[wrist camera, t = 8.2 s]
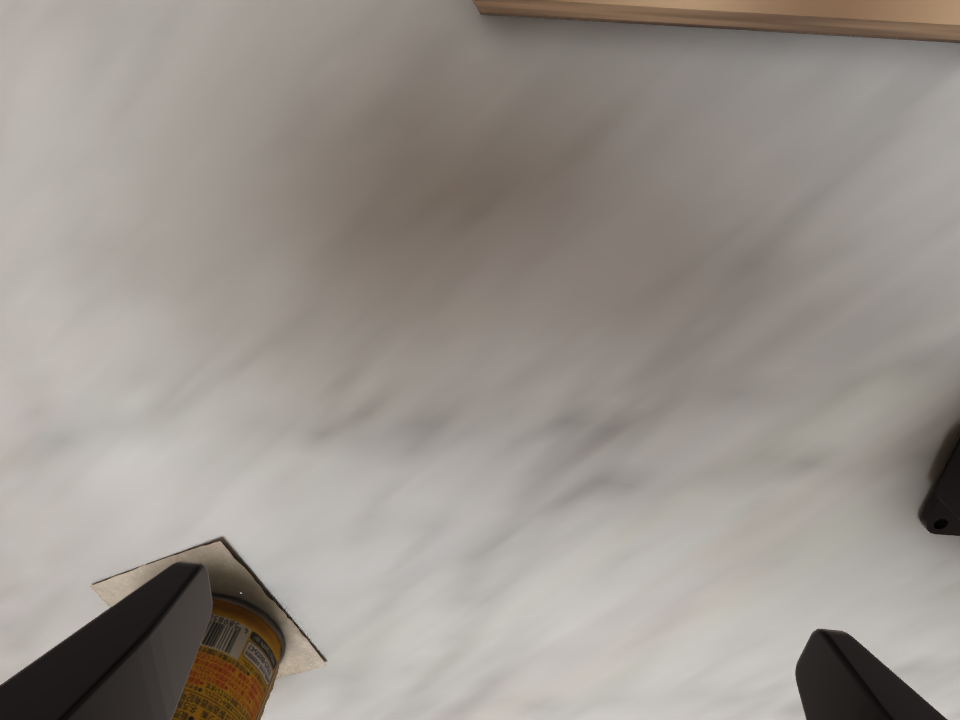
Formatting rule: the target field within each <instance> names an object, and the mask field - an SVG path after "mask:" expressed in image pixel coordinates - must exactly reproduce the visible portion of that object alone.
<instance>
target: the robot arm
mask: <svg viewBox="0 0 960 720" xmlns="http://www.w3.org/2000/svg"><path fill="white" fill-rule="evenodd" d="M920 521H921V524H922V525H923V526H924V527H925V528H926V529H927V530H928V531H929V532H930V533H933V534H941V535H955V536H960V438H959V440H958V442H957V444H956V446H955V448H954V450H953V452H952V454H951V456H950V458H949V460H948V462H947V464H946V466H945V468H944V470H943V472H942V474H941V476H940V478H939V480H938V482H937V484H936V486H935V488H934V490H933V492H932V494H931V496H930V499H929V501H928V503H927V505H926V507H925V509H924V511H923V513H922V515H921V517H920ZM212 605H213V603H212V595H211V588H210V581H209V575H208V570H207V567H206V566H205V565H204V564H202V563H194V562H185V561H179V562H176V563H173V564H172V565H170V566H169V567H167V568H166V569H164V570H163V571H161V572H160V573H159V574H157V575H156V576H154V577H153V578H152V579H150V580H149V581H147V582H146V583H144V584H143V585H142V586H140V587H139V588H137V589H136V590H135V591H133V592H132V593H130V594H129V595H127V596H126V597H125V598H123V599H122V600H120V601H119V602H118V603H116V604H115V605H113V606H112V607H110V608H109V609H108V610H106V611H105V612H103V613H102V614H101V615H99V616H98V617H96V618H95V619H93V620H92V621H91V622H89V623H88V624H86V625H85V626H84V627H82V628H81V629H79V630H78V631H76V632H75V633H74V634H72V635H71V636H69V637H68V638H67V639H65V640H64V641H62V642H61V643H59V644H58V645H57V646H55V647H54V648H52V649H51V650H50V651H48V652H47V653H45V654H44V655H42V656H41V657H40V658H38V659H37V660H35V661H34V662H33V663H31V664H30V665H28V666H27V667H25V668H24V669H23V670H21V671H20V672H18V673H17V674H16V675H14V676H13V677H11V678H10V679H8V680H7V681H6V682H4V683H3V684H1V685H0V720H172V717H173V715H174V712H175V710H176V707H177V704H178V702H179V699H180V697H181V694H182V691H183V689H184V686H185V683H186V681H187V678H188V676H189V673H190V670H191V668H192V665H193V662H194V660H195V657H196V654H197V652H198V649H199V647H200V644H201V641H202V639H203V636H204V633H205V631H206V628H207V625H208V623H209V620H210V617H211V613H212ZM795 675H796V682H797V686H798V690H799V694H800V697H801V701H802V705H803V709H804V713H805V716H806V720H947V719H946V718H945V717H944V716H942V715H941V714H940V713H939V712H938V711H937V710H936V709H934V708H933V707H932V706H931V705H930V704H929V703H928V702H926V701H925V700H924V699H923V698H922V697H921V696H920V695H918V694H917V693H916V692H915V691H914V690H913V689H912V688H910V687H909V686H908V685H907V684H906V683H905V682H904V681H902V680H901V679H900V678H899V677H898V676H897V675H896V674H894V673H893V672H892V671H891V670H890V669H889V668H887V667H886V666H885V665H884V664H883V663H882V662H881V661H879V660H878V659H877V658H876V657H875V656H874V655H873V654H871V653H870V652H869V651H868V650H867V649H866V648H865V647H863V646H862V645H861V644H860V643H859V642H858V641H857V640H855V639H854V638H853V637H852V636H851V635H849V634H848V633H846V632H843V631H838V630H828V629H817V630H815V631H814V632H813V633H812V634H811V636H810V638H809V640H808V642H807V644H806V646H805V648H804V650H803V652H802V654H801V656H800V658H799V660H798V662H797V665H796V673H795Z"/></svg>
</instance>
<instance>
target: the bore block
mask: <svg viewBox="0 0 960 720" xmlns="http://www.w3.org/2000/svg"><path fill="white" fill-rule="evenodd" d="M473 2H474V4H475V6H476V7H477V9H478V11H479V12H480V14H484V15H501V16H518V17H534V18H551V19H568V20H585V21H601V22H618V23H635V24H652V25H669V26H685V27H702V28H719V29H736V30H752V31H769V32H786V33H803V34H819V35H836V36H853V37H870V38H887V39H903V40H920V41H937V42H954V43H960V0H473Z"/></svg>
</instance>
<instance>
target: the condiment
mask: <svg viewBox="0 0 960 720" xmlns="http://www.w3.org/2000/svg"><path fill="white" fill-rule="evenodd" d="M179 561H185V562H194V563H202V564H204V565H205V566H206V567H207V570H208V575H209V581H210V588H211V595H212V603H213V605H212V613H211V617H210V620H209V623H208V625H207V628H206V631H205V633H204V636H203V639H202V641H201V644H200V647H199V649H198V652H197V654H196V657H195V660H194V662H193V665H192V668H191V670H190V673H189V676H188V678H187V681H186V683H185V686H184V689H183V691H182V694H181V697H180V699H179V702H178V704H177V707H176V710H175V712H174V715H173V717H172V720H260V719H261V717H262V715H263V712H264V708H265V705H266V702H267V700H268V699H269V696H270V693H271V691H272V689H273V686H274V681H275V679H276V678H278V677H281V676H285V675H288V674H295V673H301V672H304V671H307V670H311V669H315V668H318V667H321V666H324V665H327V664H326V663H325V662H324V661H323V660H322V658H321V657H320V656H319V654H318V653H317V652H316V651H315V649H314V648H313V647H312V645H311V644H310V643H309V641H308V640H307V639H306V638H305V637H304V636H303V635H302V634H301V633H300V631H299V629H298V628H297V627H296V625H295V624H294V623H293V622H292V621H291V620H290V619H289V618H287V616H286V614H285V613H284V612H283V611H282V610H281V609H280V608H279V607H278V606H277V605H276V603H275V602H274V601H272V600H271V599H270V598H268V596H267V595H266V594H265V593H264V591H263V589H262V588H261V587H260V585H259V584H258V583H257V582H256V581H255V580H254V578H253V577H252V575H251V574H250V573H249V572H248V571H247V570H246V569H245V567H244V566H242V565H241V564H240V563H239V562H238V561H237V560H235V559H234V558H233V556H232V555H231V553H230V552H229V551H228V549H227V548H226V547H225V546H224V545H223V544H222V542H221V541H218V542H215V543H212V544H209V545H206V546H200V547H198V548H195V549H191V550H188V551H185V552H183V553H180V554H177V555H173V556H170V557H167V558H164V559H162V560H159V561H156V562H154V563H151V564H148V565H142V566H141V567H139V568H137V569H135V570H132V571H130V572H127V573H125V574H121V575H117V576H114V577H112V578H110V579H108V580H105V581H103V582H100V583H97V584H94V585H92V586H90V587H91V588H92V589H93V590H94V591H95V592H96V593H97V594H98V596H99V597H100V598H101V599H102V600H103V601H104V602H105V603H107V604H108V605H109V606H111V607H112V606H113V605H115V604H116V603H118V602H119V601H120V600H122V599H123V598H125V597H126V596H127V595H129V594H130V593H132V592H133V591H135V590H136V589H137V588H139V587H140V586H142V585H143V584H144V583H146V582H147V581H149V580H150V579H152V578H153V577H154V576H156V575H157V574H159V573H160V572H161V571H163V570H164V569H166V568H167V567H169V566H170V565H172V564H173V563H176V562H179ZM240 592H242V593H243V594H240Z"/></svg>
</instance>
